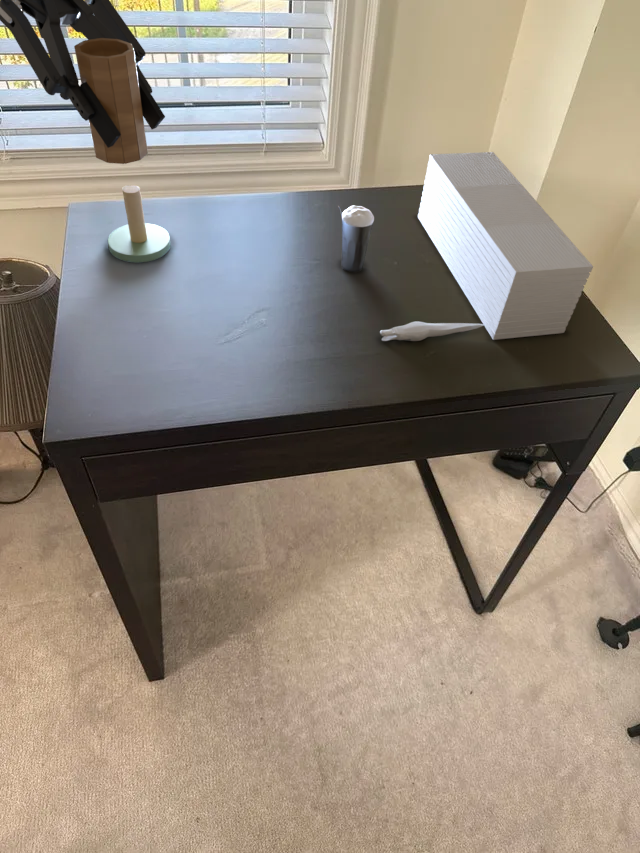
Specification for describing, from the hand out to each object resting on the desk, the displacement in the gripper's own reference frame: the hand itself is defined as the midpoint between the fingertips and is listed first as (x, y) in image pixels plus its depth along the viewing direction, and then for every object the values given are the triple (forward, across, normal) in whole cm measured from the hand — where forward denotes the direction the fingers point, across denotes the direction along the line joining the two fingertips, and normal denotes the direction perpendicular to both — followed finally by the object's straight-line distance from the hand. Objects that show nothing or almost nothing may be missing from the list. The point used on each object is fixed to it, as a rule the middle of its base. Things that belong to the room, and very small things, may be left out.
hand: (136, 131), depth 78 cm
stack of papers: (+40, +32, -12) cm, 53 cm away
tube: (0, 0, +5) cm, 5 cm away
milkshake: (+29, +20, 0) cm, 35 cm away
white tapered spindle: (+41, +13, -13) cm, 45 cm away
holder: (+9, +3, +18) cm, 21 cm away
